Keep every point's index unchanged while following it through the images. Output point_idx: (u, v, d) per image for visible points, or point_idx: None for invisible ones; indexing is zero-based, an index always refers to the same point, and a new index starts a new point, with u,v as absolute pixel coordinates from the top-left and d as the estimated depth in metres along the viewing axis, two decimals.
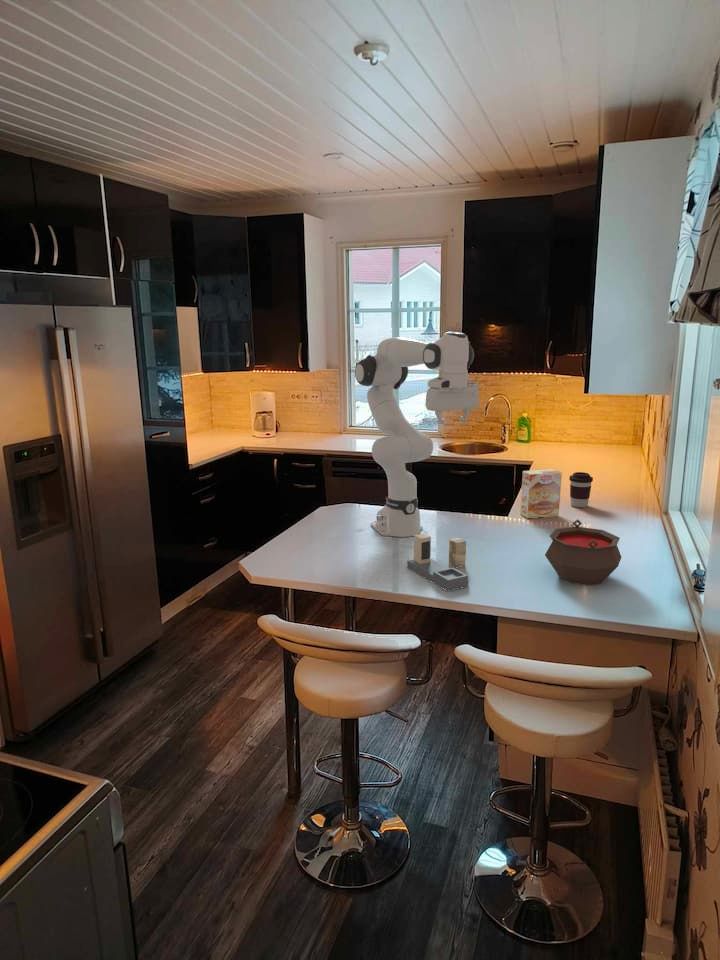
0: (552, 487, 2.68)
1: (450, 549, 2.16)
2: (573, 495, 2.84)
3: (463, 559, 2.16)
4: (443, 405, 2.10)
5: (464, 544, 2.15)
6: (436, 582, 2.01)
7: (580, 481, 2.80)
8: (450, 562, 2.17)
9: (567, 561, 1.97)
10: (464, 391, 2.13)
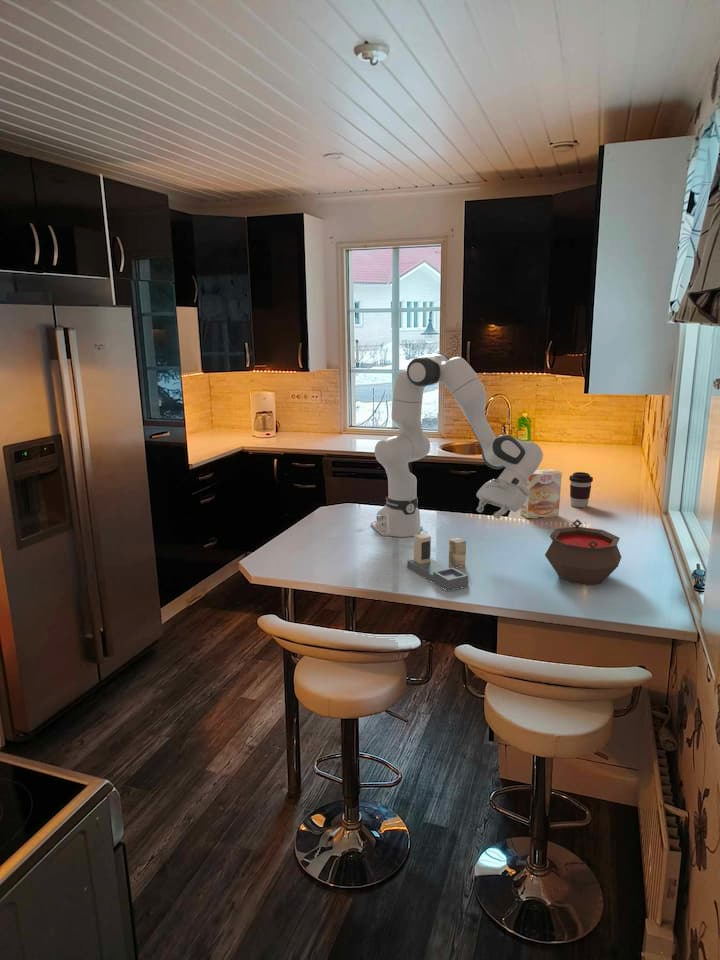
0: (552, 487, 2.68)
1: (450, 549, 2.16)
2: (573, 495, 2.84)
3: (463, 559, 2.16)
4: None
5: (464, 544, 2.15)
6: (436, 582, 2.01)
7: (580, 481, 2.80)
8: (450, 562, 2.17)
9: (567, 561, 1.97)
10: None
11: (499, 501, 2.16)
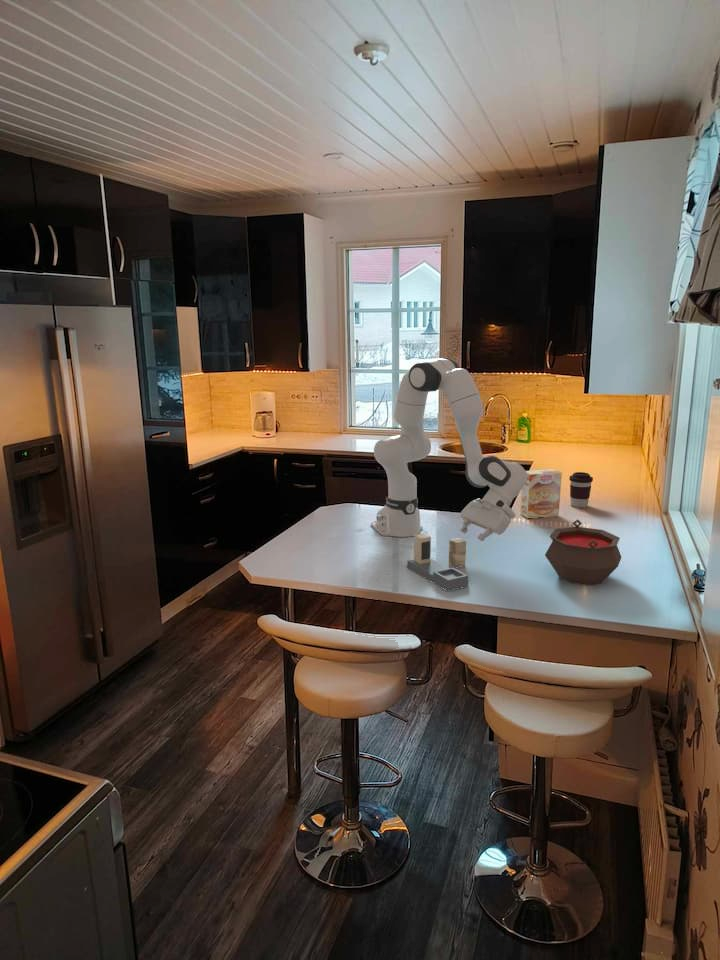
0: (552, 487, 2.68)
1: (450, 549, 2.16)
2: (573, 495, 2.84)
3: (463, 559, 2.16)
4: None
5: (464, 544, 2.15)
6: (436, 582, 2.01)
7: (580, 481, 2.80)
8: (450, 562, 2.17)
9: (567, 561, 1.97)
10: None
11: (483, 522, 2.15)
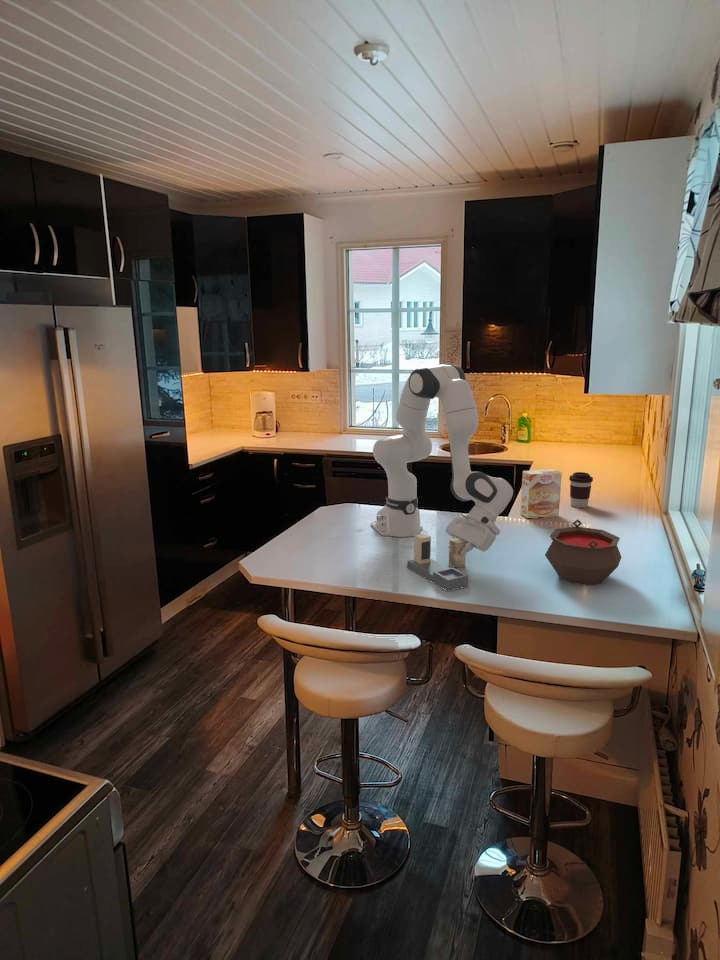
0: (552, 487, 2.68)
1: (450, 549, 2.16)
2: (573, 495, 2.84)
3: (463, 559, 2.16)
4: None
5: (464, 544, 2.14)
6: (436, 582, 2.01)
7: (580, 481, 2.80)
8: (450, 562, 2.17)
9: (567, 561, 1.97)
10: None
11: (468, 539, 2.13)
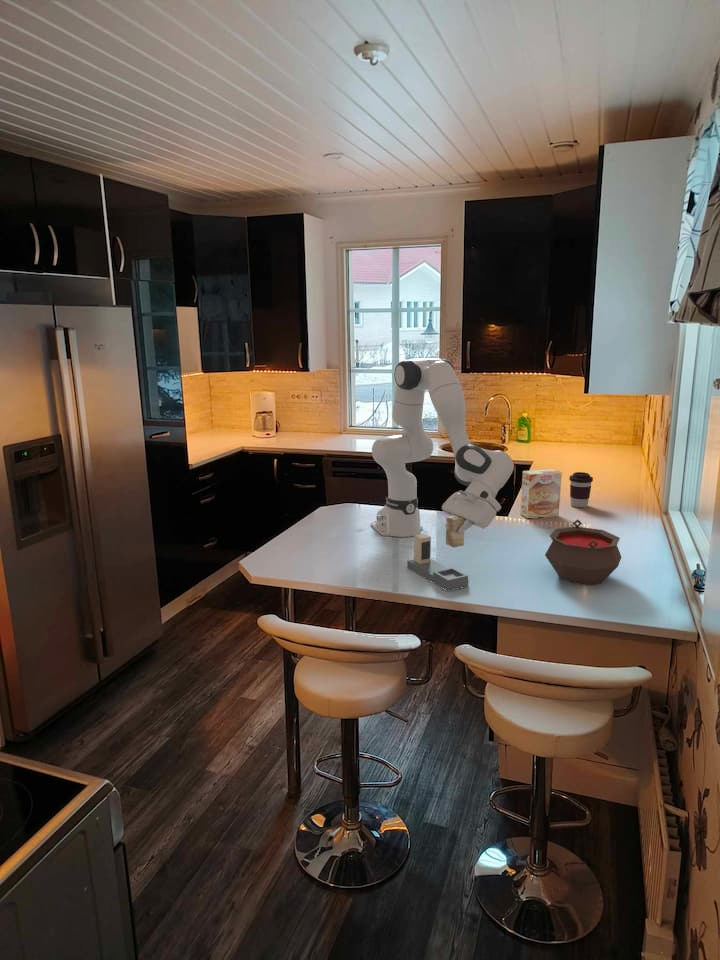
0: (552, 487, 2.68)
1: (447, 527, 2.00)
2: (573, 495, 2.84)
3: (461, 538, 1.99)
4: None
5: (462, 521, 1.98)
6: (436, 582, 2.01)
7: (580, 481, 2.80)
8: (447, 541, 2.01)
9: (567, 561, 1.97)
10: None
11: (466, 516, 1.97)
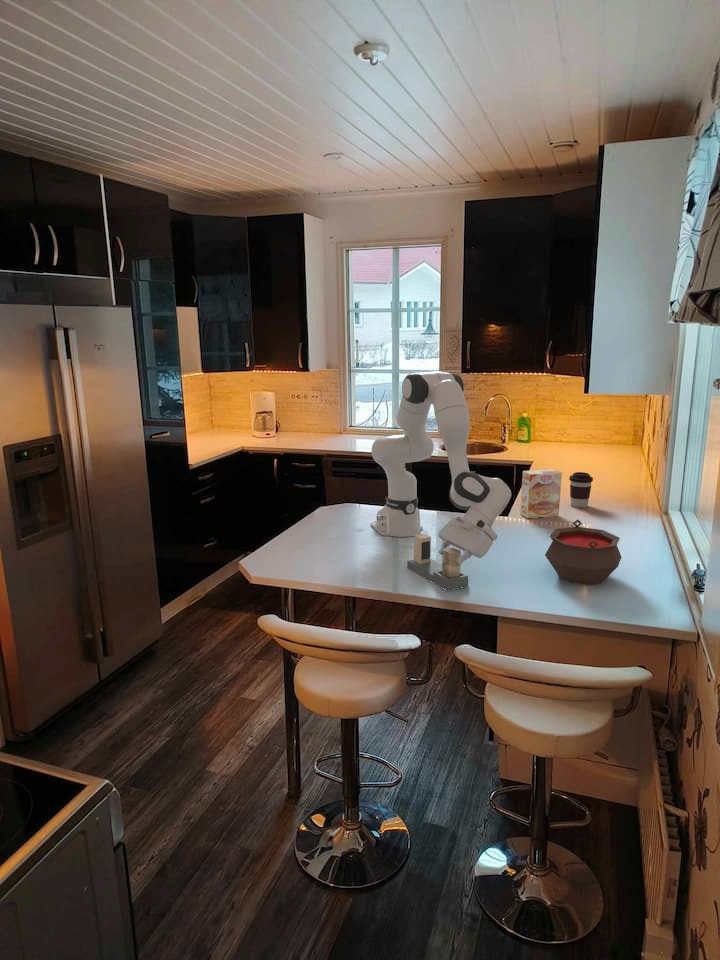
0: (552, 487, 2.68)
1: (443, 560, 1.99)
2: (573, 495, 2.84)
3: (457, 571, 1.99)
4: None
5: (458, 554, 1.98)
6: (436, 582, 2.01)
7: (580, 481, 2.80)
8: (443, 574, 2.00)
9: (567, 561, 1.97)
10: None
11: (462, 544, 1.96)
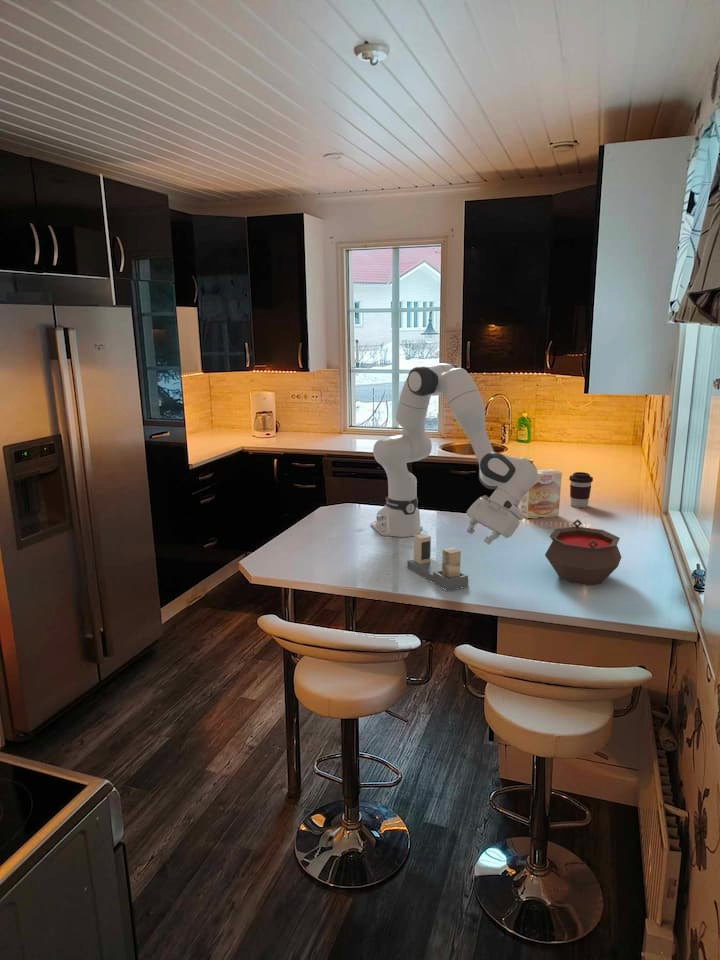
0: (552, 487, 2.68)
1: (443, 560, 1.99)
2: (573, 495, 2.84)
3: (457, 571, 1.99)
4: None
5: (458, 554, 1.98)
6: (436, 582, 2.01)
7: (580, 481, 2.80)
8: (443, 574, 2.00)
9: (566, 561, 1.97)
10: None
11: (490, 524, 2.02)
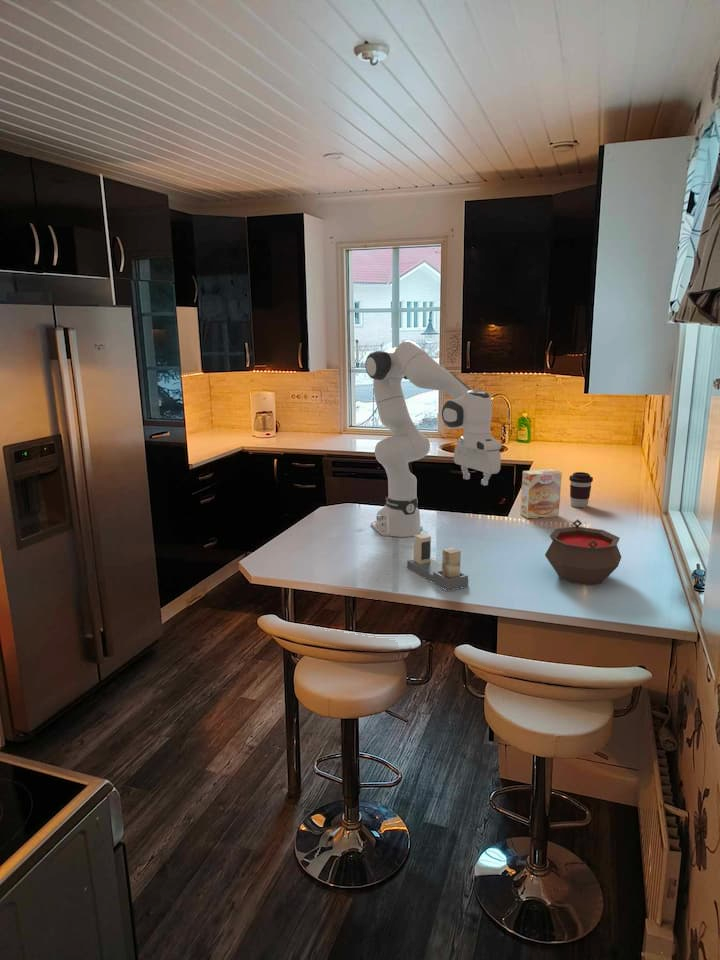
0: (552, 487, 2.68)
1: (443, 560, 1.99)
2: (573, 495, 2.84)
3: (457, 571, 1.99)
4: None
5: (458, 554, 1.98)
6: (436, 582, 2.01)
7: (580, 481, 2.80)
8: (443, 574, 2.00)
9: (566, 561, 1.97)
10: None
11: (477, 468, 2.06)
